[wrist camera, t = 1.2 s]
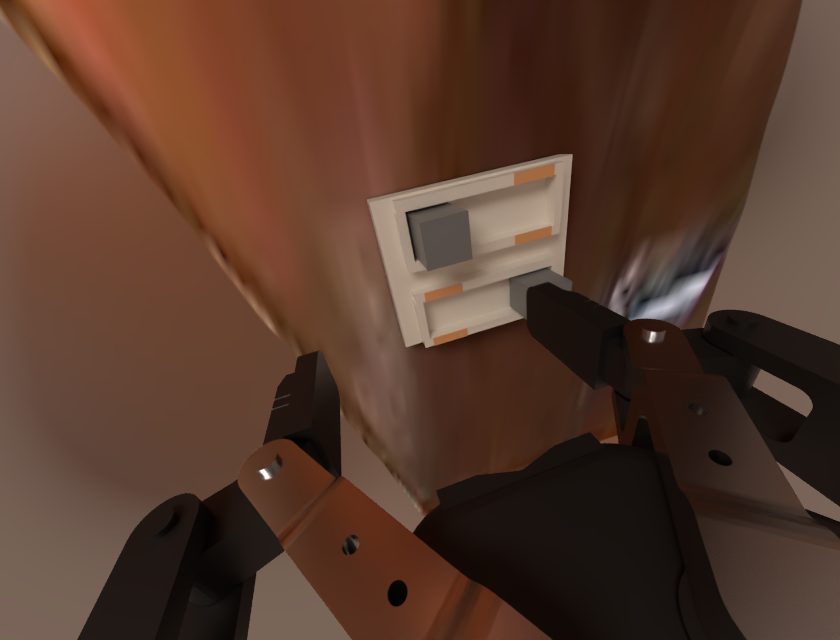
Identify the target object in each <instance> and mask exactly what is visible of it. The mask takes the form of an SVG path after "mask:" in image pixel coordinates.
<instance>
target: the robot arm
mask: <svg viewBox="0 0 840 640" xmlns="http://www.w3.org/2000/svg"><path fill="white" fill-rule="evenodd" d="M526 308H527V326H528V329H529V332H530V333H531V335H532V336H533V337H534V338H535V339H536V340H537V341H538V342H540V343H541V344H542V345H543V346H544V347H545V348H546V349H548V350H549V351H550V352H551V353H552V354H553V355H555V356H556V357H557V358H558V359H559V360H560V361H561V362H563V363H564V364H565V365H566V366H567V367H568V368H570V369H571V370H572V371H573V372H574V373H575V374H576V375H578V376H579V377H580V378H581V379H582V380H583V381H585V382H586V383H587V384H588V385H589V386H590V387H591V388H593V389H594V390H596V389H599V388H602V387H605V386H607V385H610V386H611V387H612V388H613V389H612V403H613V409H614V416H615V422H616V429H617V435H618V443H619V444H610V443H608V444H606V443H603V444H601V443H600V442H599V441H598V440H597V439H596V438H595V437H594V436H593V435H592V434H591V433H590V432H589V433H586V434H584V435H581V436H578V437H576V438H573V439H571V440H568V441H565V442H563V443H560V444H557V445H555V446H553V447H552V448H551V449H549V450H548V451H547V452H545V453H544V454H543V455H542V456H540V457H539V458H538V459H536V460H535V461H534V462H532V463H531V464H530V465H529V466H527V467H526V468H524V469H523V470H520V471H513V472H504V473H494V474H485V475H476V476H473V477H471V478H468V479H466V480H463V481H460V482H458V483H455V484H452V485H450V486H447V487H444V488H442V489H439V490H437V495H438V498H439V502H440V504H439V505H438V506H437V507H436V508H434V509H433V510H432V511H431V512H430V513H429V514H428V515H427V516H426V517H425V518H424V519H423V520H422V521H421V522H420V524H419V525H418V526H417V527H416V529H415V531H414V532H413V533H412V532H410V531H409V530H408V529H407V528H406V527H404V526H403V525H402V524H401V523H400V522H398V521H397V520H396V519H395V518H394V517H392V516H391V515H390V514H389V513H387V512H386V511H385V510H384V509H383V508H381V507H380V506H379V505H378V504H377V503H375V502H374V501H373V500H372V499H370V498H369V497H368V496H367V495H366V494H364V493H363V492H362V491H361V490H360V489H358V488H357V487H355V486H354V485H353V484H352V483H351V482H350V481H349V480H347V479H346V478H344V477H343V476H341V436H340V398H339V392H338V388H337V385H336V383H335V380H334V378H333V376H332V374H331V371H330V369H329V367H328V365H327V363H326V360H325V358H324V356H323V354H322V352H321V351H320V350H319V351H316V352H312V353H309V354H306V355H302V356H299V357H298V358H297V363H296V368H295V373H292V374H289V375H286V376H285V378H284V379H283V380H282V382H281V383H280V385H279V386H278V388H277V392H276V396H275V401H274V404H273V407H272V408H273V410H272V412H271V415H270V419H269V423H268V427H267V431H266V435H265V439H264V443H263V446H261V447H260V448H258V449H257V450H256V451H254V452H253V453H252V454H251V455H250V456H249V457H248V458H247V460H246V461H245V462H244V464H243V465H242V467H241V469H240V471H239V475H238V479H237V480H236V481H234V482H233V483H231V484H230V485H228V486H227V487H225V488H223V489H222V490H220V491H218V492H217V493H215V494H213V495H212V496H210V497H208V498H207V499H205V500H204V501H201V500H200V499H199V498H198V497H197V496H195V495H194V494H190V493H185V494H180V495H177V496H175V497H172V498H170V499H168V500H167V501H165V502H163V503H162V504H160V505H159V506H157V507H156V508H155V509H154V510H152V511H151V512H150V513H149V514H148V515H147V516H146V517H145V518H144V519H143V520H142V521H141V522H140V523H139V524H138V525H137V527H136V528H135V529H134V531H133V532H132V533H131V535H130V537H129V538H128V540H127V542H126V544H125V546H124V548H123V550H122V552H121V554H120V556H119V558H118V560H117V562H116V564H115V566H114V568H113V570H112V572H111V574H110V576H109V578H108V580H107V582H106V584H105V586H104V588H103V590H102V592H101V594H100V596H99V598H98V600H97V602H96V604H95V606H94V608H93V610H92V612H91V614H90V616H89V617H88V620H87V621H86V624H85V625H84V627H83V629H82V632H81V633H80V635H79V637H78V639H77V640H247V635H248V628H249V621H250V614H251V607H252V600H253V593H254V586H255V579H256V572H257V571H258V570H260V569H261V568H262V567H264V566H265V565H266V564H267V563H269V562H270V561H272V560H273V559H274V558H276V557H277V556H278V555H280V554H281V553H282V552H284V551H286V552H287V554H288V555H289V556H290V558H291V559H292V560H293V562H294V563H295V564H296V566H297V567H298V568H299V570H300V571H301V572H302V574H303V575H304V576H305V578H306V579H307V580H308V582H309V583H310V584H311V586H312V587H313V588H314V590H315V591H316V592H317V594H318V595H319V596H320V598H321V599H322V600H323V601H324V603H325V604H326V606H327V607H328V608H329V609H330V611H331V612H332V613H333V615H334V616H335V618H336V619H337V620H338V622H339V623H340V624H341V626H342V627H343V628H344V630H345V631H346V632H347V634H348V635H349V636H350V637H351V639H352V640H840V522H839V521H836V520H833V519H831V518H828V517H825V516H823V515H820V514H817V513H815V512H812V511H810V510H807V509H804V507H803V506H802V504H801V502H800V500H799V499H798V497H797V495H796V494H795V492H794V490H793V489H792V487H791V485H790V484H789V482H788V480H787V479H786V477H785V475H784V474H783V472H782V470H781V469H780V467H779V466H778V464H777V462H778V463H780V464H781V465H782V466H784V467H785V468H787V469H788V470H789V471H791V472H792V473H794V474H795V475H796V476H798V477H799V478H801V479H802V480H803V481H805V482H806V483H807V484H809V485H810V486H812V487H813V488H814V489H816V490H817V491H819V492H820V493H821V494H823V495H824V496H826V497H827V498H829V499H830V500H831V501H833V502H834V503H835V504H837V505H838V506H840V345H839V344H836V343H834V342H831V341H828V340H826V339H823V338H820V337H818V336H815V335H813V334H810V333H807V332H805V331H802V330H799V329H797V328H794V327H792V326H789V325H786V324H784V323H781V322H779V321H776V320H773V319H771V318H768V317H765V316H763V315H760V314H756V313H752V312H747V311H740V310H721V311H716V312H713V313H711V314H710V315H709V316H708V318H707V321H706V324H705V327H704V328H697V329H686V330H681V329H680V328H678V327H677V326H675V325H673V324H671V323H668V322H665V321H661V320H656V319H636V320H632V321H630V320H628V319H627V318H625V317H623V316H621V315H619V314H617V313H615V312H613V311H611V310H609V309H608V308H606V307H604V306H602V305H600V306H599V304H598V303H596V302H594V301H592V300H591V301H590V299H589V298H587V297H585V296H583V295H581V294H579V293H576V292H572V291H567V290H563V289H562V288H560V287H558V286H556V285H554V284H552V283H550V282H545V283H541V284H538V285H535V286H532V287H529V288H528V289H527V292H526ZM761 369H762V370H764V371H766V372H768V373H770V374H772V375H774V376H776V377H778V378H780V379H782V380H784V381H786V382H788V383H789V384H791V385H793V386H795V387H797V388H799V389H801V390H802V391H804V392H805V393H806V394H807V395H808V396H809V397H810V399H811V401H812V403H813V409H812V411H811V412H810V414H809V415H808V417H805V416H804V415H802V414H800V413H799V412H797V411H795V410H793V409H791V408H790V407H788V406H786V405H784V404H783V403H781V402H779V401H777V400H776V399H774V398H772V397H770V396H769V395H767V394H765V393H763V392H762V391H760V390H758V389H756V388H754V387H753V384H754V382H755V380H756V378H757V376H758V374H759V372H760V370H761ZM776 461H777V462H776Z"/></svg>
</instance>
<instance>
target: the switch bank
mask: <svg viewBox="0 0 840 640" xmlns="http://www.w3.org/2000/svg"><path fill="white" fill-rule="evenodd" d="M572 155H573V154H558V155H554V156H550V157H545V158H541V159H537V160H533V161H528V162H524V163H520V164H516V165H511V166H507V167H503V168H499V169H495V170H490V171H486V172H482V173H478V174H473V175H469V176H465V177H461V178H456V179H452V180H448V181H444V182H439V183H435V184H431V185H427V186H422V187H418V188H414V189H410V190H405V191H401V192H397V193H393V194H388V195H384V196H380V197H376V198H371V199H367V203H368V206H369V210H370V214H371V218H372V222H373V226H374V229H375V233H376V237H377V241H378V245H379V249H380V253H381V256H382V260H383V264H384V268H385V272H386V276H387V279H388V283H389V287H390V291H391V295H392V299H393V303H394V306H395V310H396V314H397V318H398V322H399V326H400V330H401V333H402V337H403V340H404V343H405V345H406V347H408V346H412V345H415V344H418V343H422V342H423V343H424V345H425V347H426V348H427V347H430V346H436V345H439V344H442V343H445V342H449V341H452V340H455V339H458V338H462V337H465V336H468V335H470V334H473V333H476V332H479V331H483V330H486V329H489V328H492V327H496V326H499V325H502V324H506V323H509V322H512V321H515V320H519V319H522V318H524V317H522V316H521V315H520V314H519V313H518V312H517V311H515V310H514V309H513V308H512V307H511V306H510V287H509V278H511V277H514V276H518V275H521V274H525V273H528V272H532V271H535V270H539V269H542V268H548V269H550V270H552V271H554V272H555V273H557V274H559V275H561V276H563V271H564V258H565V246H566V233H567V220H568V207H569V194H570V181H571V168H572ZM446 202H448V203H451V204H453V205H455V206H458V207H460V208H463V209H465V210H468V214H469V225H470V236H471V246H472V257H473V259H471V260H468V261H464V262H460V263H457V264H453V265H449V266H446V267H442V268H438V269H435V270H431V271H427V270H426V268H425V267H424V266H423V265H422V263H421V262H420V261H419V260H418V258H417V257H416V256H415V255H414V251H413V246H412V241H411V236H410V231H409V226H408V221H407V216H406V212H409V211H414V210H418V209H422V208H426V207H430V206H434V205H438V204H442V203H446Z"/></svg>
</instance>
